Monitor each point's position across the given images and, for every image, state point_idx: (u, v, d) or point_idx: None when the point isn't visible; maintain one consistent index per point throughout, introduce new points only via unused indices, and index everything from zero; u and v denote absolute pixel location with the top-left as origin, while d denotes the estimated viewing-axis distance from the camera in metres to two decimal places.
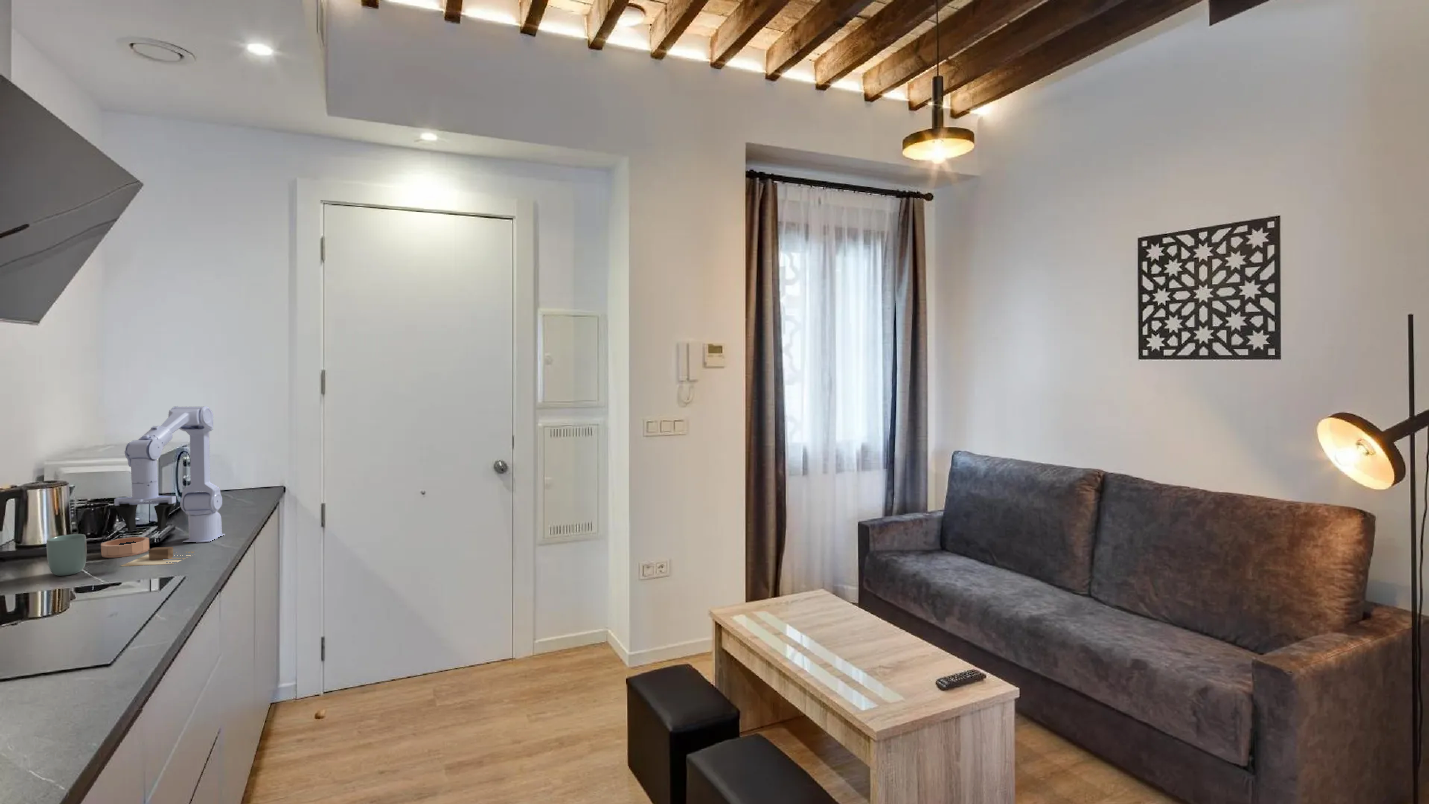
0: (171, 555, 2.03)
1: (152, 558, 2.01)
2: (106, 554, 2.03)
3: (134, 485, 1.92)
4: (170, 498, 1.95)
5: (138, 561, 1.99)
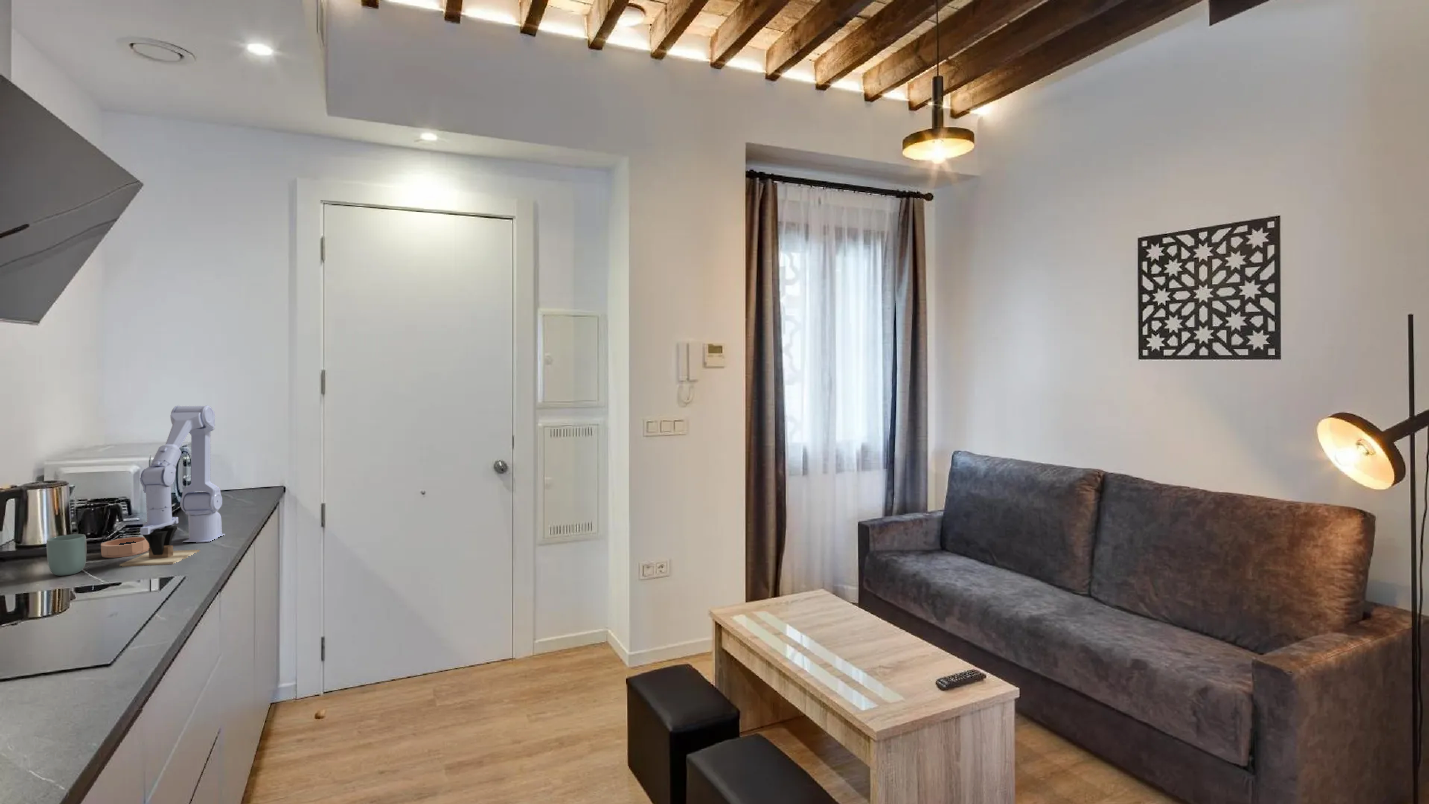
0: (171, 553, 2.03)
1: (152, 556, 2.01)
2: (106, 554, 2.03)
3: None
4: None
5: (138, 559, 1.99)
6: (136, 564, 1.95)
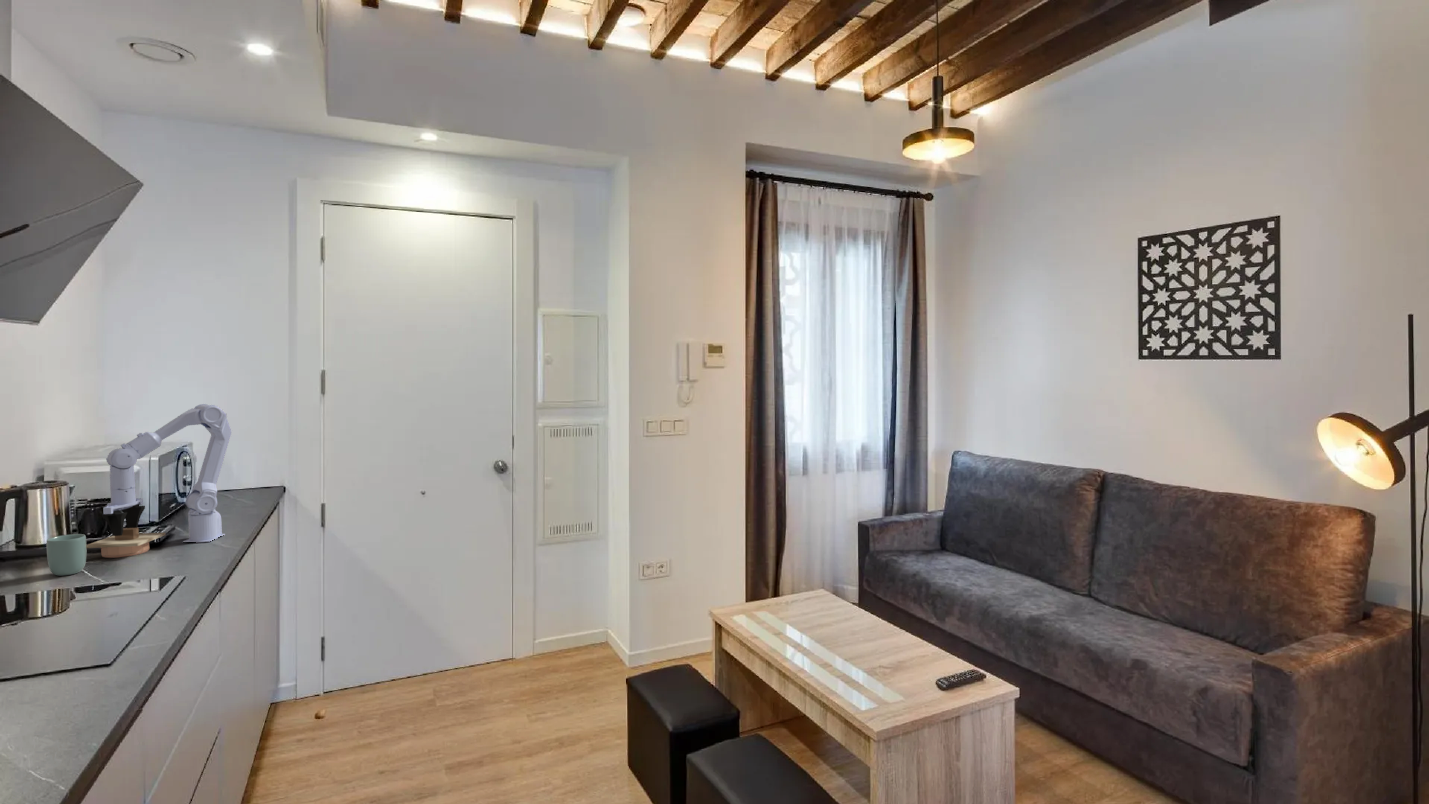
0: (136, 535, 2.09)
1: (118, 538, 2.07)
2: (106, 554, 2.03)
3: None
4: None
5: (104, 541, 2.05)
6: (101, 545, 2.01)
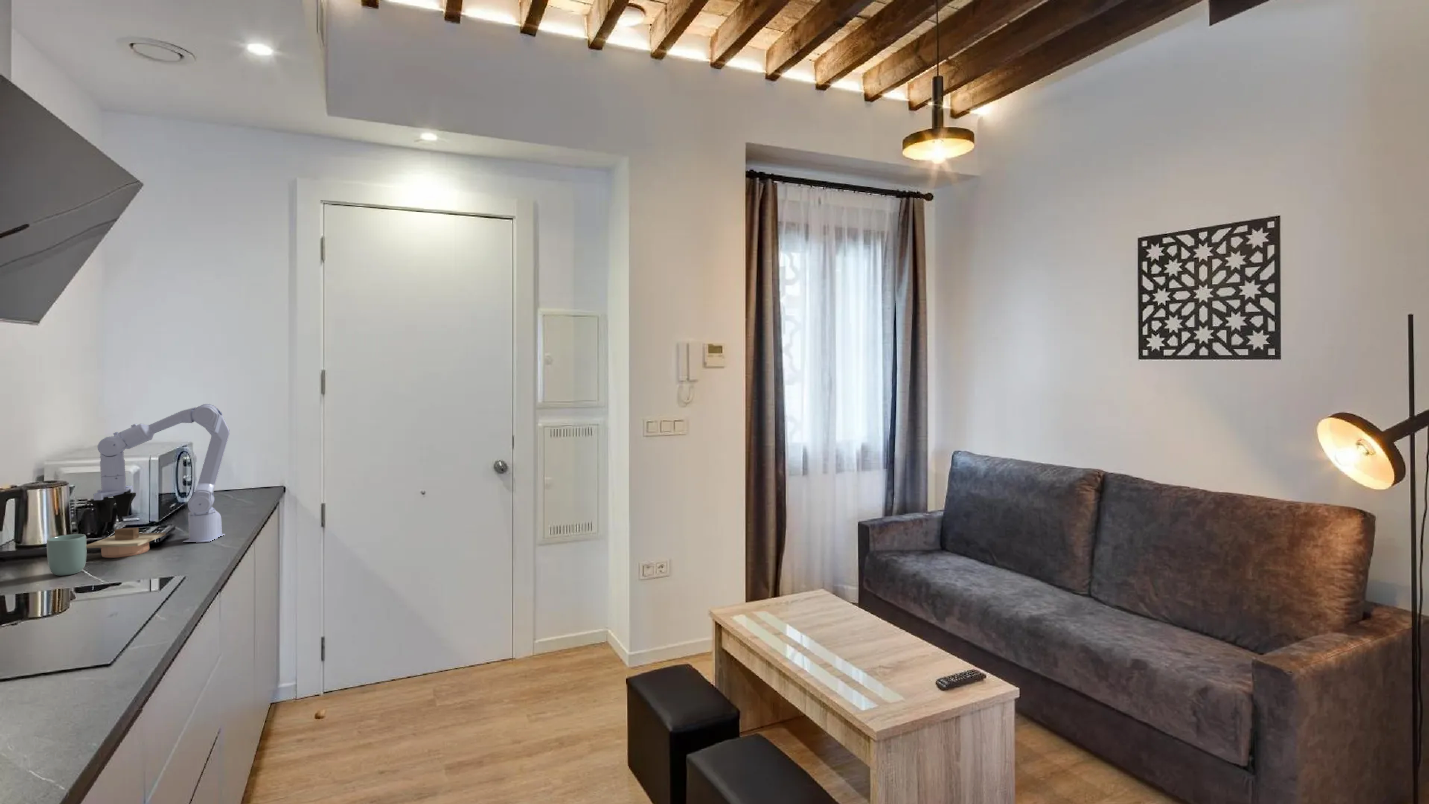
0: (136, 535, 2.09)
1: (118, 538, 2.07)
2: (106, 554, 2.03)
3: None
4: None
5: (104, 541, 2.05)
6: (101, 545, 2.01)
